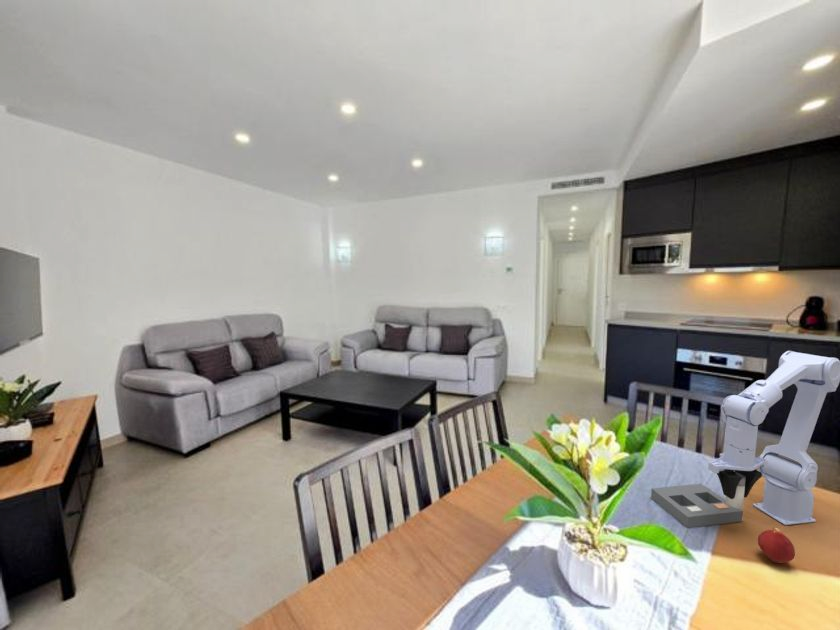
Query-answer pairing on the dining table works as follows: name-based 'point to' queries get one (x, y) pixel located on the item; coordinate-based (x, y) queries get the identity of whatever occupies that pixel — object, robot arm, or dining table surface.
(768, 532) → the red rounded oval piece
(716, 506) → the socket panel
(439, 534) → the dining table surface
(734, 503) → the plug
